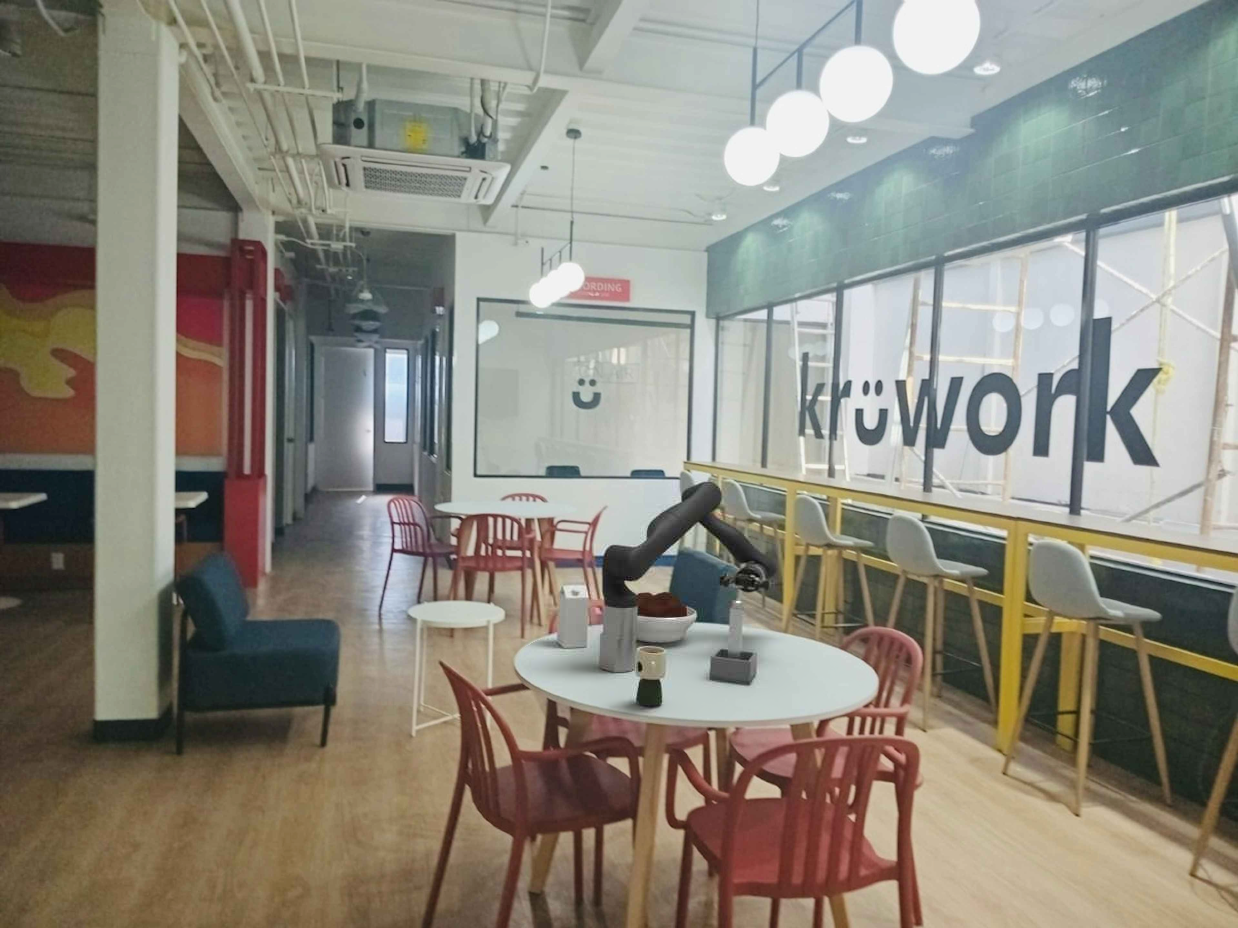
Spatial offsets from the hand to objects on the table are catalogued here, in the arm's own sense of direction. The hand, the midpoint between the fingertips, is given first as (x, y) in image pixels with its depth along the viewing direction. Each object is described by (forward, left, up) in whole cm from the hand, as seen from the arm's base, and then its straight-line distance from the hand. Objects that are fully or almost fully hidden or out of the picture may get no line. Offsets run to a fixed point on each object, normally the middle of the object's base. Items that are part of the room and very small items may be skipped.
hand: (740, 585), depth 242 cm
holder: (-11, -6, -23) cm, 26 cm away
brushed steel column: (-11, -6, -22) cm, 25 cm away
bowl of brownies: (+5, +33, -23) cm, 41 cm away
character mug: (-46, -5, -23) cm, 51 cm away
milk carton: (-20, +45, -23) cm, 54 cm away
